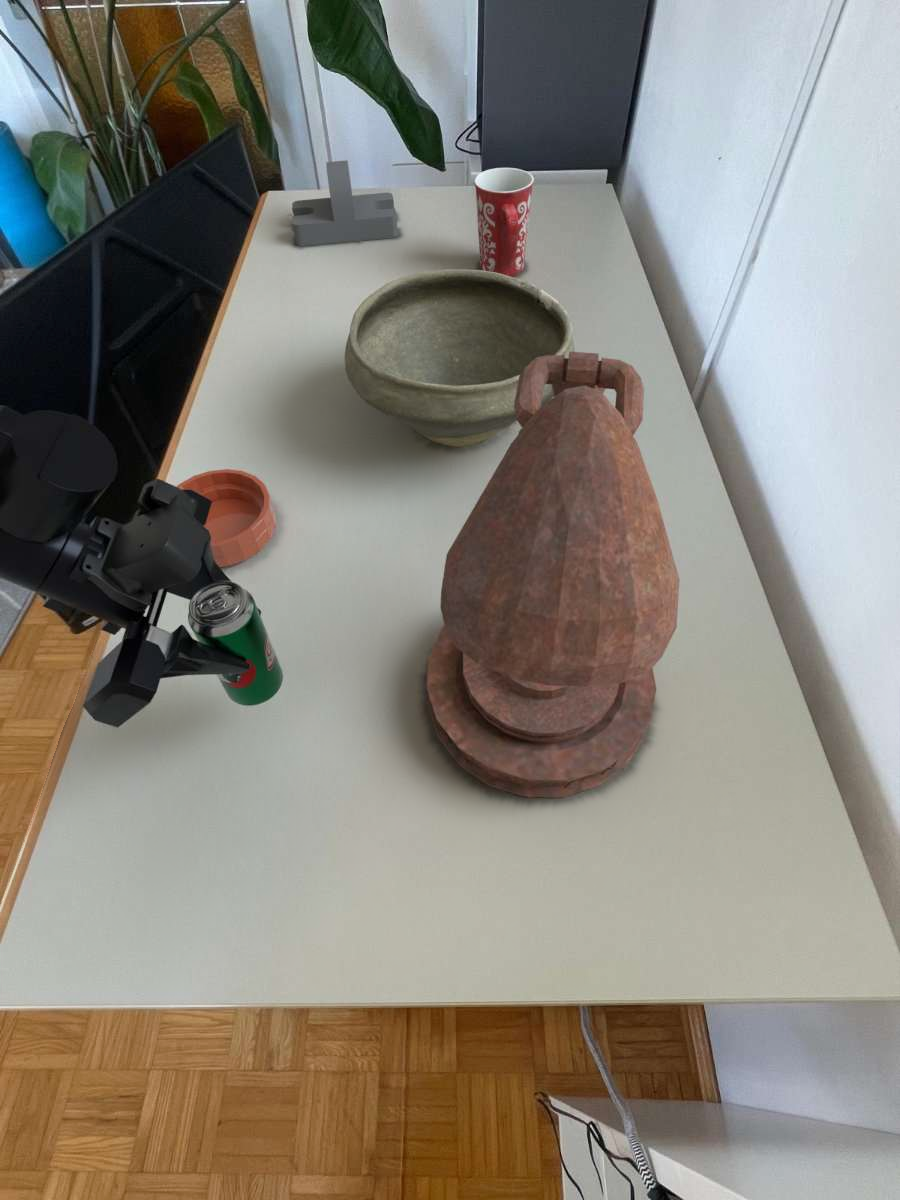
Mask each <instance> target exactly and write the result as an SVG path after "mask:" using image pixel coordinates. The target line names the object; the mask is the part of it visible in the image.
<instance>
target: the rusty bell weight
mask: <svg viewBox="0 0 900 1200" xmlns="http://www.w3.org/2000/svg"><path fill="white" fill-rule="evenodd" d="M599 354H600V353H597V352H596V353H595V352H583V351H575V352H569V358H565V355H547V356H542V357H537V358H535V359H534V360H533V361H532V362H531V363H529V364H528V365H527V366H526V367H525V368H524V370H523V372H522V373H521V375H520V376H519V380H518V386H517V391H516V397H515V403H514V410H515V416H516V420H517V421H516V422H517V423H518V424H519V425H520V427H521V428H520V429H519V431H518V433H517V436H516V437H515V438H514V439H513V440H512V442H511V443H510V445H509V446H508V448H507V450H506V452H505V454H504V455H503V457H502V459H501V460H500V462H499V463H498V465H497V467H496V469H495V471H494V472H493V474H492V476H491V477H490V479H489V481H488V483H487V484H486V486H485V488H484V489H483V491H482V493H481V494H480V496H479V498H478V499H477V501H476V503H475V505H474V506H473V508H472V510H471V512H470V513H469V515H468V517H467V519H466V520H465V522H464V523H463V525H462V526H461V529H460V531H459V533H458V534H457V536H456V537H455V539H454V541H453V543H452V544H451V546H450V547H449V549H448V551H447V553H446V556H445V563H444V569H443V570H444V571H443V577H442V584H441V589H440V604H439V605H440V612H441V616H442V620H443V626H442V627H441V628H440V629H439V631H438V634H437V635H436V638H435V641H434V643H433V645H432V647H431V650H430V652H429V655H428V657H427V667H426V669H427V670H426V693H427V696H428V706H427V707H428V711H429V714H430V717H431V720H432V723H433V726H434V730H435V733H436V735H437V739H438V740H439V741H440V743H441V744H442V745H443V747H444V748H445V750H447V752H448V753H449V754H450V755H451V757H452V758H453V759H454V761H455V762H456V763H457V765H458V766H459V767H461V768H462V769H464V770H465V771H467V772H468V773H470V774H471V775H473V776H474V777H475V778H477V779H479V781H481V782H482V783H484V784H485V785H487V786H488V787H492V788H493V789H494V788H495V789H498V790H500V791H504V792H508V793H510V794H514V795H517V796H520V797H524V798H565V797H568V796H572V795H575V794H578V793H581V792H584V791H588V790H591V789H594V788H597V787H600V786H601V785H602V784H603V783H605V782H606V781H607V780H608V779H610V778H611V777H612V776H614V775H615V774H617V773H618V772H619V771H620V770H622V769H623V768H625V767H626V766H627V764H628V763H629V762H630V759H631V758H632V757H633V755H634V753H635V752H636V750H637V749H638V747H639V745H640V744H641V743H642V741H643V739H644V736H645V731H646V729H647V727H648V725H650V722H651V720H652V715H653V714H652V713H653V709H654V702H655V699H656V692H657V685H656V680H655V673H654V669H653V668H654V667H655V665H657V663H658V662H659V661H660V660H661V659H662V657H663V655H664V654H665V651H666V649H667V648H668V646H669V643H670V641H671V639H672V638H673V635H674V633H675V632H676V630H677V627H678V611H679V609H678V608H679V597H680V596H679V595H680V594H679V593H680V576H679V573H678V569H677V565H676V562H675V559H674V555H673V551H672V548H671V544H670V541H669V537H668V533H667V530H666V526H665V522H664V519H663V515H662V512H661V508H660V503H659V500H658V497H657V494H656V492H655V489H654V487H653V484H652V480H651V478H650V475H649V472H648V469H647V466H646V464H645V461H644V458H643V455H642V452H641V450H640V447H639V444H638V441H637V440H636V438H635V437H634V435H635V434H636V432H637V430H639V427H640V426H641V424H642V422H643V420H644V402H645V401H644V399H645V398H644V397H645V388H644V384H643V380H642V377H641V376H640V375H639V373H638V371H637V370H636V369H635V367H634V366H633V365H632V364H629V363H627V362H625V361H623V360H621V359H615V358H607V357H601V358H600V357H599V356H600V355H599ZM599 358H600V359H601V360H599ZM545 384H552V388H553V392H554V397H552V398H551V399H550V400H549V401H548V402H546V403H545V404H544V405H542V406H541V402H542V396H543V390H544V385H545ZM606 389H608V390H614V391H615V393H616V394H615V405H614V404H613V403H612V402H611V401H610V400H609V399H608V397H607V396H605V394H604V393H605V391H606Z"/></svg>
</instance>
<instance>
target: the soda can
mask: <svg viewBox="0 0 900 1200" xmlns="http://www.w3.org/2000/svg"><path fill="white" fill-rule="evenodd" d="M231 581H232V580H231ZM231 581H215V582H212V583H209V584H207V585H205V586H203V587H202V588H200V589H199V590H198V591H197V592H196V593H195V594H194V595H193V597H192V598H191V600H189V604H188V613H187V621H188V624H189V627H190V630H191V631H192V633H193V635H194V636H195V638H196V641H199V642H201V643H204V644H206V645H209V646H211V647H213V648H216V649H218V650H221V651H223V652H226V653H228V654H231V655H233V656H235V657H237V658H239V659H241V660H243V661H245V662H246V663H248V664H250V669H249V670H248V671H247V672H245V673H243V674H215V676H217V678H218V680H219V682H220V684H221V686H222V688H223V689H224V692H225V693H226V695H227V697H228V698H229V699H230V700H231V701H232V702H233V703H236V704H237V705H241V706H245V707H246V706H247V707H248V706H249V707H251V706H252V707H253V706H257V705H261V704H264V703H266V702H267V701H269V700H271V699H272V698H274V696H276V694H277V693H278V692H279V690H280V688H281V686H282V684H283V679H284V674H283V669H282V667H281V663H280V662H279V659H278V657H277V654H276V652H275V648H274V647H273V644H272V641H271V639H270V636H269V634H268V631H267V629H266V626H265V624H264V621H263V619H262V616H260V614H259V611H258V609H257V607H258V606H257V604H256V601H255V599H254V597H253V595H252V594H251V593H250V592H249V591H248V590H246V589H245V588H244V587H242V586H241V584H238V583H237V582H234V581H232V582H231Z"/></svg>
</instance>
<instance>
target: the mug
mask: <svg viewBox="0 0 900 1200" xmlns="http://www.w3.org/2000/svg"><path fill="white" fill-rule="evenodd" d="M534 183H535V178H534V176H533V175H532V174H531V173H530V172H528V171H526V170H523V169H520V168H515V167H495V168H489V169H486V170H483V171H481V172H480V173H478V174H477V175H476V176H475V177H474V180H473V184H474V187H475V197H476V198H475V201H476V215H477V235H478V252H479V268H480V270H483V271H490V272H496V273H500V274H503V275H507V276H510V277H514V276H516V275H518V274H520V273H521V272H522V271H523V270H524V266H525V258H526V250H527V249H526V248H527V239H528V231H529V219H530V213H531V212H530V210H531V202H532V201H531V200H532V193H533V186H534Z"/></svg>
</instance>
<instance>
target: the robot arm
mask: <svg viewBox="0 0 900 1200" xmlns="http://www.w3.org/2000/svg"><path fill="white" fill-rule="evenodd" d="M118 466H119V461H118V456H117V453H116V451H115V448H114V447H113V444H112V443H111V442H110V440H109V439H108V437H107V436H106V435H105V433H103V432H102V431H101V430H100V429H99V428H98V427H97V426H95V425H94V424H93V423H91V422H90V421H88V420H87V419H86V418H83V417H81V416H79V415H77V414H75V413H72V414H69V413H66V412H62V411H57V410H49V409H45V410H44V409H43V410H35V411H31V412H28V413H26V414H24V415H23V414H22V413H20V412H18V411H16V410H14V409H12V408H10V407H9V406H7V405H0V579H2V580H4V581H6V582H9V583H11V584H14V585H16V586H18V587H21V588H24V589H26V590H29V591H31V592H34V593H36V594H38V595H41V596H42V597H46V598H45V600H44V602H43V605H42V607H43V608H45V609H48V610H51V611H53V612H55V613H59V612H60V610H61V609H62V608H63V607H64V606H68V607H69V608H73V609H75V610H77V611H80V612H83V613H84V614H87V615H89V616H92V617H95V618H97V619H99V620H102V621H103V623H102V626H101V629H100V631H103V632H105V633H107V634H108V633H109V634H111V635H114V636H115V635H117V634H118V632H120V631H121V630H122V629H123V630H124V634H123V636H122V639H121V641H120V642H119V643H118V644H117V645H116V646H115V647H113V649H112V650H111V651H109V652H108V653H107V654H106V655H105V656H104V657H103V658H102V659H101V660H100V661H99V662H98V663H97V665H96V668H95V670H94V673H93V676H92V678H91V681H90V684H89V687H88V690H87V692H86V695H85V698H84V701H83V704H82V707H83V708H84V709H85V711H86V712H87V713H88V714H89V716H90V717H91V718H92V719H93V720H94V721H96V722H99V723H102V724H105V725H108V726H111V727H114V728H117V729H119V728H120V727H121V726H123V725H124V724H125V723H126V722H128V721H129V720H130V719H131V718H132V717H134V716H135V715H136V714H138V713H139V712H140V711H141V710H142V709H143V710H144V708H146V707H147V706H148V705H150V704H151V702H152V701H153V699H154V697H155V695H156V694H157V692H158V689H159V685H160V681H161V679H167V678H175V677H184V676H204V675H205V676H209V675H210V676H211V675H216V674H243V673H245V672H247V671H248V670H249V669H250V664H248V663H246V662H245V661H243V660H241V659H239V658H237V657H235V656H233V655H231V654H228V653H226V652H223V651H221V650H218V649H216V648H213V647H211V646H209V645H206V644H204V643H201V642H199V641H198V640H197V639H194V638H193V637H192V635H191V634H190V632H189V631H188V630H187V628H186V627H185V625H183V624H180V625H179V626H178V627H177V628H176V629H174V630H173V631H172V632H169V631H167V630H165V629H162V628H160V627H157V626H158V623H159V620H160V617H161V615H162V610H163V607H164V604H165V601H166V597H167V594H172V595H175V596H177V597H180V598H183V599H185V600H189V601H190V600H191V598H192V597H193V595H194V594H195V593H196V592H197V591H198V590H199V589H200V588H202V587H203V586H205V585H207V584H209V583H212V582H215V581H231V582H233V580H231V579H230V578H229V577H228V576H227V574H226V573H225V572H224V571H223V570H222V568H221V567H219V566H218V565H217V564H216V562H215V560H214V557H213V553H212V549H211V544H210V542H211V535H210V532H209V531H208V530H207V529H206V528H205V527H204V525H205V524H206V521H207V517H208V514H209V511H210V507H211V504H212V501H211V500H210V499H208V498H206V497H204V496H202V495H201V494H199V493H197V492H195V491H193V490H182V489H180V488H178V487H177V486H176V485H173V484H171V483H170V482H167V481H165V480H163V479H160V478H156V479H153V480H152V481H149V482H147V483H145V484H144V485H143V487H142V489H141V492H140V495H139V497H138V500H137V505H138V507H139V509H138V510H136V511H135V513H134V515H133V518H132V520H131V521H130V522H128V523H126V524H124V523H120V522H116V521H115V520H112V519H110V518H109V517H100V516H98V515H96V516H95V517H94V518H93V520H92V521H91V522H90V523H89V524H88V523H86V522H84V521H83V519H84V518H85V517H86V516H87V514H88V513H89V511H91V510H92V508H93V506H94V505H95V504H96V503H97V501H98V500H99V499H100V498H101V496H102V495H103V494H104V493H105V491H106V490H107V489H108V487H109V486H110V485H111V483H112V482H113V481H114V480H115V479H116V476H117V474H118V468H119V467H118ZM147 609H148V610H147ZM257 609H258V611H259V614H260V616H261V615H262V611H261V609H260V608H259V607H258V606H257ZM145 614H146V615H145ZM261 617H262V616H261Z"/></svg>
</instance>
